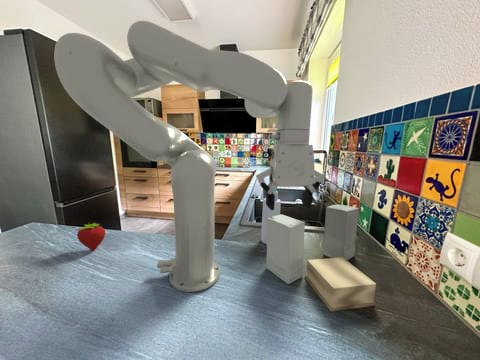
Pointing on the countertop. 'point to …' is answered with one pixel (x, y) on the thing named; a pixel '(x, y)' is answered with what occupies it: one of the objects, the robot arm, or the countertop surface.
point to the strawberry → (91, 235)
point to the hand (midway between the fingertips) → (288, 207)
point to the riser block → (340, 284)
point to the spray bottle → (269, 215)
